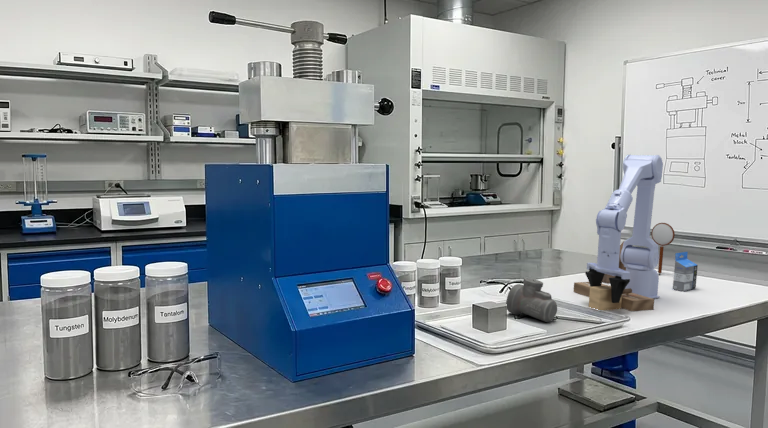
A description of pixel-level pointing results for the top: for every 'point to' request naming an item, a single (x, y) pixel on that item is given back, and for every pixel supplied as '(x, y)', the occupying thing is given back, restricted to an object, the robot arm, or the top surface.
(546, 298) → the grey electric motor
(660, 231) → the magnifying glass
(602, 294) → the light wood pillar
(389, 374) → the top surface
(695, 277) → the label tape cartridge
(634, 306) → the walnut plank
